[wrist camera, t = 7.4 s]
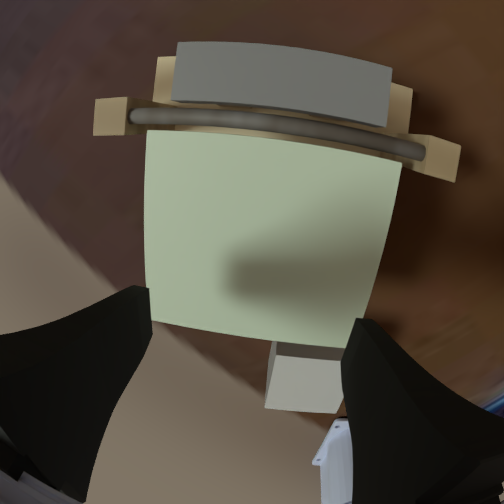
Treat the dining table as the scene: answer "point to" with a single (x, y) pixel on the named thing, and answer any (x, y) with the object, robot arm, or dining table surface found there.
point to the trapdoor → (267, 199)
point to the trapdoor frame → (281, 125)
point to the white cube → (304, 378)
